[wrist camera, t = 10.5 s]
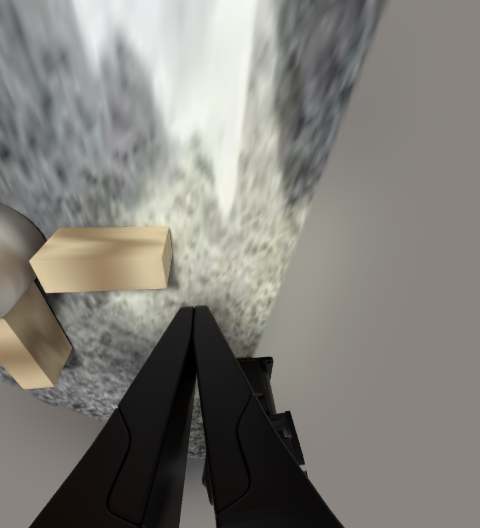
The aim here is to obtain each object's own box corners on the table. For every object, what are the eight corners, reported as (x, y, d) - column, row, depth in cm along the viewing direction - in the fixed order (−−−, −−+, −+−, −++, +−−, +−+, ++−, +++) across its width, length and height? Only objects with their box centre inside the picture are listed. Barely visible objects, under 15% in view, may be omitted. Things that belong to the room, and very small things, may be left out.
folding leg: (71, 257, 20) (45, 293, 17) (59, 227, 18) (29, 261, 15) (172, 254, 21) (166, 288, 18) (168, 226, 19) (161, 257, 16)
